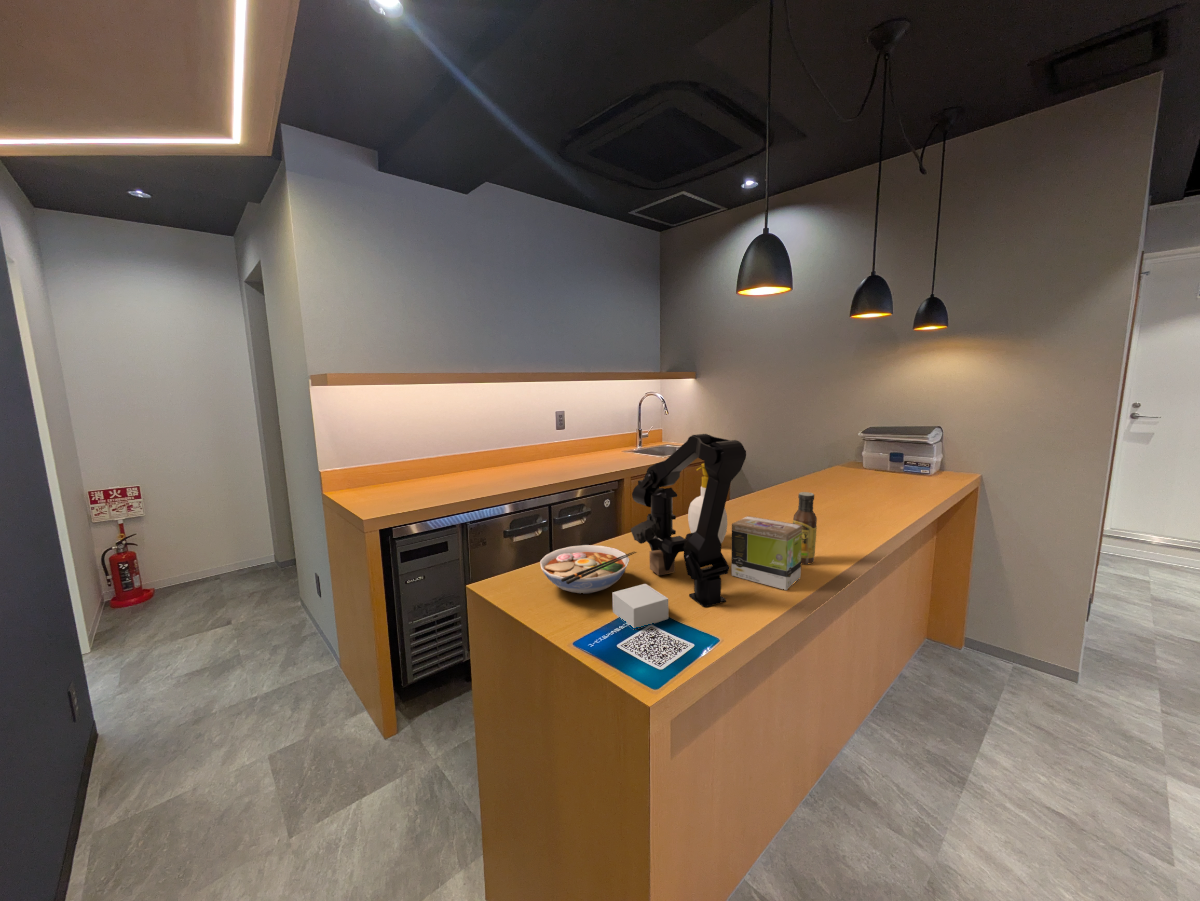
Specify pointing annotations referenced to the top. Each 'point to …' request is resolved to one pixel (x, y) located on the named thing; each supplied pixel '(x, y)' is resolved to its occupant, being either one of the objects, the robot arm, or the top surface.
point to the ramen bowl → (585, 567)
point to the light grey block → (640, 605)
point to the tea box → (766, 551)
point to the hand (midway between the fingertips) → (662, 566)
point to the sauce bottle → (806, 526)
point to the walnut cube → (659, 563)
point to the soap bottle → (697, 505)
